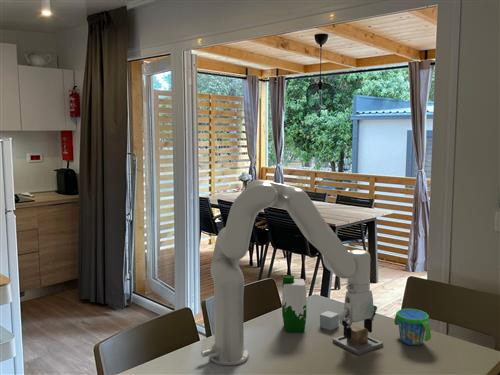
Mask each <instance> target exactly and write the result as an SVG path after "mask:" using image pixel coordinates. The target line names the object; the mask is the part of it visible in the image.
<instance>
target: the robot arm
mask: <svg viewBox="0 0 500 375" xmlns="http://www.w3.org/2000/svg"><path fill="white" fill-rule="evenodd" d="M305 191H306V190H305ZM305 191H304V190H303V189H302V188H300V187H296V186H294V185H290V184H289V185H288V184H283V183H277V182H274V181H268V180H265V179H258V178H257V179H254V180H251V181H250V182H249V183H247V186H246V187H245V190H244V191H242V192H241V193H240V194H238V196H237V197H236V198H235V199H234V200H233V202H232V205H230V206H231V207H230V209H229V212H228V216H227V219H226V224H225V227H223V228H221V230H220V231H219V232H218V234H217V236H216V239H215V243H214V248H213V253H212V258H211V262H210V263H211V264H210V276H211V278H212V281H213V289H214V290H213V315H214V316H213V322H214V323H213V324H214V343H212V344H211V347H210V348H209V349H205V350H201V352H200V355H201V357H202V358H206V357H208V359H210V360H211V362H213V363H215V364H217V365H220V366H227V367H228V366H236V365H240V364H243V363H244V362H246V361H247V360H248V359H249V357H250V356H249V354H250V353H249V351H248V349H246V348H244V347H245V340H244V338H245V336H244V332H245V331H244V327H245V326H244V293H245V292H244V291H245V278H244V277H245V276H244V273H243V271H242V269H241V267H240V266H239V264H240V261H241V259H243V258H244V257H245V256H246V255H247V254H248V251H249V247H250V241H251V237H252V232H253V227H254V223H255V221H256V218H257V216H258V215H259V213H260V212H261V211H263V210H264V209H267V208H277V209H282V210H285V211H287V213H288V214H289V216H290V217H291V219H292V220H293V222H294V223H295V224H296V226H297V227H298V228H299V231H300V232H301V233H302V235H303V236H304V237H305V238H306V240H307V241H308V243H310V244H311V245H312V246H313V247H314V248H315V249H317V251H319V253H320V254H321V255H322V256H323V259H322V261H323V262H322V263H323V266H324V267H325V268H326V269H327V270H328V271H329V272H331V273H333V275H335V276H336V277H338V278H340V279H343V280H345V279H347V281H346V282H347V285H346V286H345V288H346V292H345V296H344V304H343V305H344V306H343V311H342V312H341V313H340V314H339V316H338V318H339V323H340V324H341V325H342V327H343V335H344V337H346V338H348V339H351V330H352V329H351V326H352V324H353V323H359V322H362V321H363V327H364V328H366V329H368V333H372V332H373V321H374V319H375V318H374V317H375V316H376V312H377V310H378V306H376V305H374V297H373V292H372V289H371V282H370V281H371V254H370V252H368V251H367V250H363V249H353V250H348V248H347V247H346V246H345V245H344V243H343V242H342V240H341V239H340V238H339V237H338V235H336V233H335V232H334V230H333V229H332V228H331V227H330V225H329V224H328V223H327V221H326V220H325V218H324V217H323V216H322V214H321V213H320V211H319V210H318V208H317V207H316V205H315V204H314V202H313V201H312V199H311V198H310V196H309V195H308V194H307V193H306V192H305Z"/></svg>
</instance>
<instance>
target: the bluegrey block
mask: <svg viewBox="0 0 500 375" xmlns="http://www.w3.org/2000/svg"><path fill="white" fill-rule="evenodd" d="M339 315H340V314H339V313H337V312H333V311H330V310H325V311H324V312H322V313H320V314H319V328H322V329H325V330H328V331H333V330H334V329H336V328H338V327H339V325H340V324H339V323H340V320H339V318H338V316H339Z"/></svg>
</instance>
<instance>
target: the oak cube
mask: <svg viewBox="0 0 500 375" xmlns="http://www.w3.org/2000/svg"><path fill="white" fill-rule="evenodd" d="M350 327H351V329H352V330H351V339H348V338H347V342H349V343H351V344H353V345H355V346H357V347H358V346H361V345H364V344H367V343H368V336H369V332H368V329H366V328H364V326H361V325H359V324H355V325H351V326H350Z"/></svg>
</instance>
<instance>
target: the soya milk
mask: <svg viewBox="0 0 500 375" xmlns="http://www.w3.org/2000/svg"><path fill="white" fill-rule="evenodd" d="M281 289H282V292H281V314H282V321H283V327H284V332H285V333H304V332H305V331H306V330H305V329H306V322H307V287H306V283H305V279H304V278H295V276H294V275H292V274H286V275H283V276H282V288H281Z"/></svg>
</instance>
